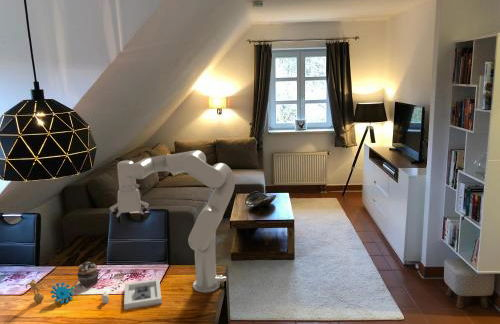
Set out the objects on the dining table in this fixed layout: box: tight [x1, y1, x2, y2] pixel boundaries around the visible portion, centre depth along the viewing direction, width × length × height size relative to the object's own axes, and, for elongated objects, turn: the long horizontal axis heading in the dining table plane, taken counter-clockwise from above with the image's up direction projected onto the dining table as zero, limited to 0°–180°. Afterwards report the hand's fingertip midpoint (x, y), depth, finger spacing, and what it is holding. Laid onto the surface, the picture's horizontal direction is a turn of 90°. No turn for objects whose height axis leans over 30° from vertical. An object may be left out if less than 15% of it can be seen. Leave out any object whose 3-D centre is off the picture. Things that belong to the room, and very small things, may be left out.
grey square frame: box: [135, 285, 151, 300], centre depth 180 cm, size 7×8×3 cm
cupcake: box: [77, 260, 99, 288], centre depth 192 cm, size 10×10×10 cm
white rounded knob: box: [101, 291, 110, 304], centre depth 177 cm, size 3×4×4 cm
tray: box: [123, 278, 163, 310], centre depth 181 cm, size 16×18×2 cm
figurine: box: [25, 278, 45, 303], centre depth 176 cm, size 8×6×12 cm
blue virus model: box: [49, 281, 75, 305], centre depth 179 cm, size 11×6×10 cm
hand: (131, 222), depth 187 cm, fingers open, 9 cm apart
